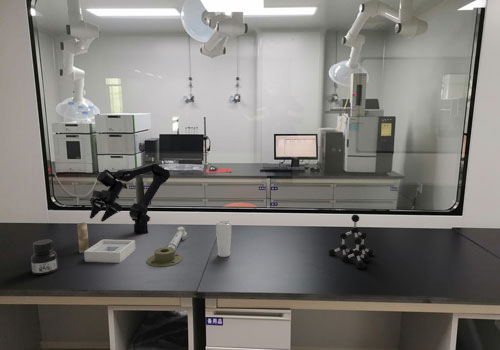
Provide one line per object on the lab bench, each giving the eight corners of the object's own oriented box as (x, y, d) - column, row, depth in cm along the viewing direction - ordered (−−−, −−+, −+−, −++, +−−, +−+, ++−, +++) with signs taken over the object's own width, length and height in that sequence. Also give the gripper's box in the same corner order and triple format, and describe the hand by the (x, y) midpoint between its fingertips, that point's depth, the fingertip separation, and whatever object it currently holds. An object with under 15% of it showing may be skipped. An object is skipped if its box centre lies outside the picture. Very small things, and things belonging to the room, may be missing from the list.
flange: (189, 250, 149) (170, 242, 160) (158, 260, 139) (139, 250, 149) (189, 260, 150) (170, 252, 160) (158, 271, 139) (140, 261, 150)
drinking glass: (233, 253, 157) (233, 221, 155) (228, 258, 151) (227, 225, 149) (220, 251, 159) (219, 219, 157) (213, 257, 153) (213, 223, 151)
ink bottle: (29, 277, 133) (26, 247, 131) (33, 268, 141) (30, 240, 139) (58, 273, 137) (55, 243, 135) (60, 265, 145) (57, 237, 143)
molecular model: (360, 270, 139) (362, 222, 136) (326, 254, 156) (328, 211, 153) (390, 262, 147) (393, 216, 145) (355, 248, 165) (357, 206, 162)
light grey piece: (163, 246, 155) (177, 223, 179) (164, 260, 156) (177, 235, 180) (175, 247, 154) (187, 223, 178) (176, 260, 156) (187, 235, 180)
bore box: (103, 248, 163) (102, 239, 163) (135, 249, 162) (134, 240, 161) (84, 261, 148) (84, 251, 147) (120, 262, 147) (119, 252, 146)
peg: (89, 249, 163) (87, 222, 161) (88, 252, 159) (86, 224, 157) (79, 250, 161) (77, 223, 159) (79, 253, 157) (76, 225, 156)
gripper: (90, 181, 172) (72, 209, 165) (113, 185, 161) (94, 214, 155) (106, 193, 180) (89, 219, 173) (129, 197, 169) (112, 225, 163)
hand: (96, 219), depth 166 cm, fingers open, 9 cm apart
